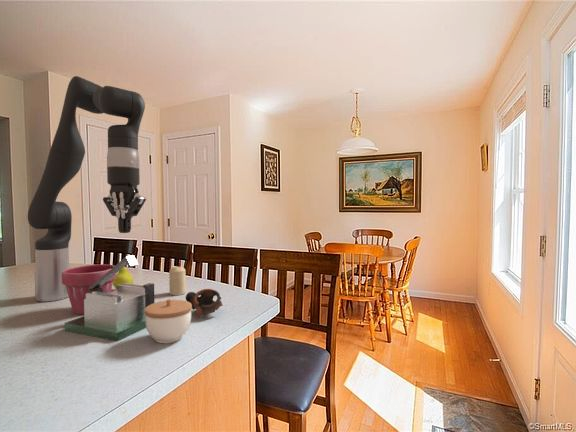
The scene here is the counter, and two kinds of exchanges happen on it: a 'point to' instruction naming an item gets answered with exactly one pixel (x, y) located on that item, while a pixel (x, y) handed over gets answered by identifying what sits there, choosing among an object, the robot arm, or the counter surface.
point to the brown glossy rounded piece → (204, 301)
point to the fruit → (123, 278)
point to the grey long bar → (115, 271)
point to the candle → (177, 280)
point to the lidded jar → (168, 320)
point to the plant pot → (84, 283)
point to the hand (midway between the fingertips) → (124, 232)
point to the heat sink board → (114, 312)
